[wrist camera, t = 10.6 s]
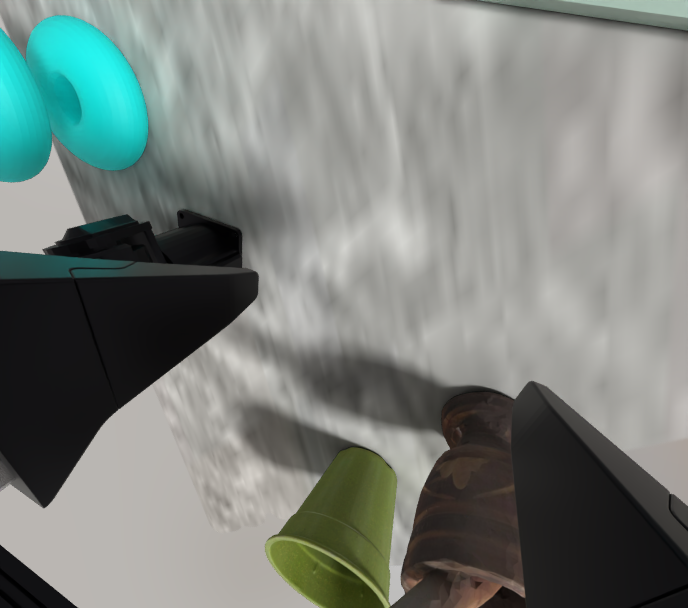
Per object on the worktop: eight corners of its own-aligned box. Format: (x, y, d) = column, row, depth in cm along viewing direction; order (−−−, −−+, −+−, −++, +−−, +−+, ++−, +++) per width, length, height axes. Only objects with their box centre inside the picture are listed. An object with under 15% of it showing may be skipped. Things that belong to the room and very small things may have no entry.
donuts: (-173, -14, 17) (-88, -60, 13) (41, 32, 25) (128, 10, 21) (-53, 184, 22) (32, 186, 18) (94, 168, 30) (172, 168, 26)
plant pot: (395, 428, 31) (357, 556, 22) (432, 508, 34) (412, 646, 25) (302, 428, 37) (241, 529, 27) (342, 497, 40) (299, 605, 31)
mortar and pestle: (389, 416, 30) (278, 749, 14) (417, 350, 25) (297, 736, 9) (513, 471, 28) (551, 958, 11) (569, 410, 23) (768, 1087, 7)
